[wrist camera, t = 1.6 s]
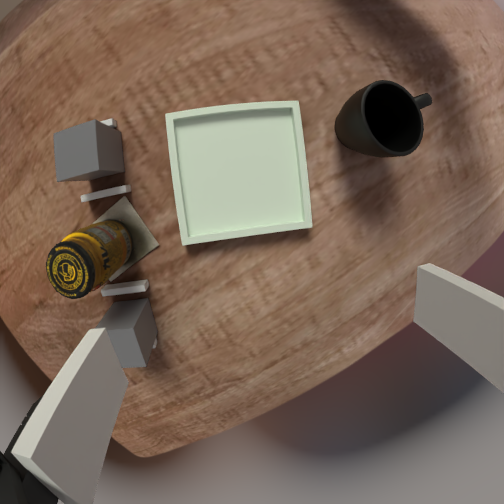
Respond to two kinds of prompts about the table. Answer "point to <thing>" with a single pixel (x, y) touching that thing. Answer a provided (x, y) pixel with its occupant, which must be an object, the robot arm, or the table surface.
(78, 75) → the table surface
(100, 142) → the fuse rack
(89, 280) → the condiment
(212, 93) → the table surface
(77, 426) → the robot arm
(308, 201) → the tray
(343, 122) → the mug
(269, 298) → the table surface
